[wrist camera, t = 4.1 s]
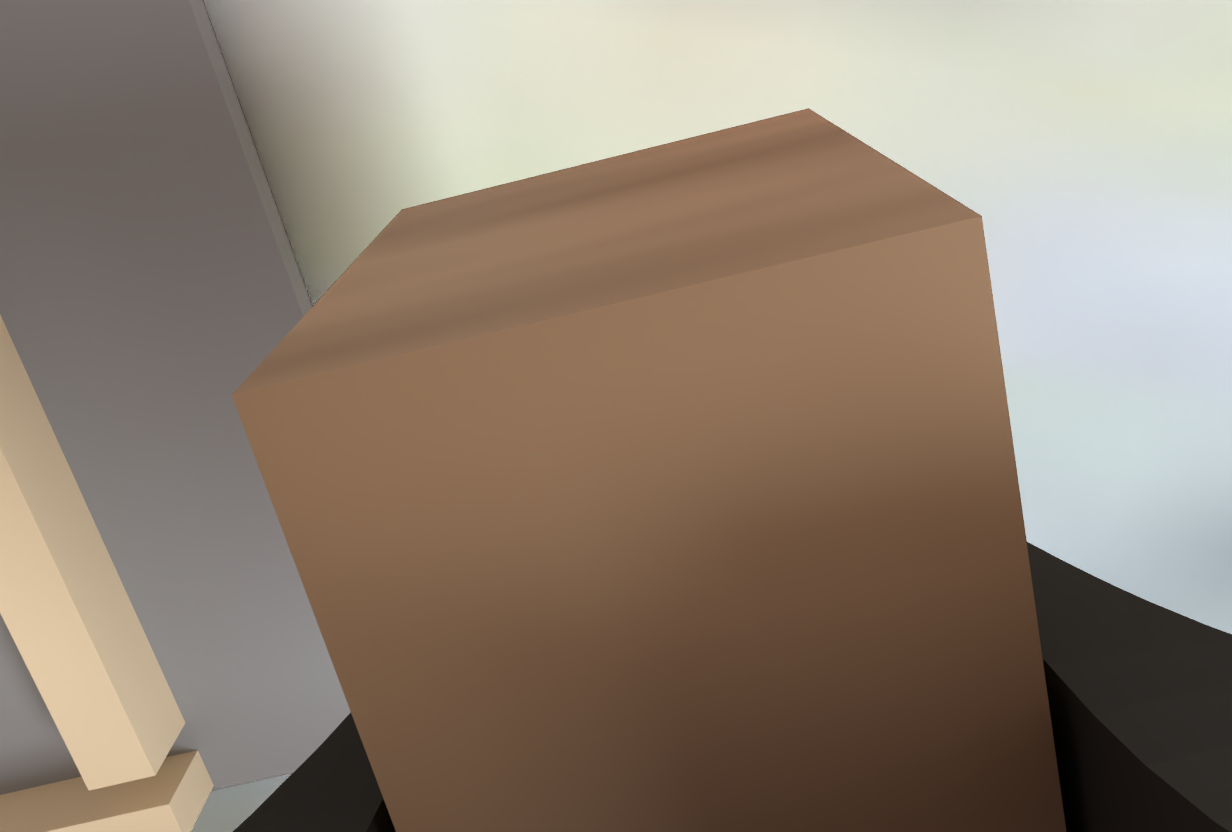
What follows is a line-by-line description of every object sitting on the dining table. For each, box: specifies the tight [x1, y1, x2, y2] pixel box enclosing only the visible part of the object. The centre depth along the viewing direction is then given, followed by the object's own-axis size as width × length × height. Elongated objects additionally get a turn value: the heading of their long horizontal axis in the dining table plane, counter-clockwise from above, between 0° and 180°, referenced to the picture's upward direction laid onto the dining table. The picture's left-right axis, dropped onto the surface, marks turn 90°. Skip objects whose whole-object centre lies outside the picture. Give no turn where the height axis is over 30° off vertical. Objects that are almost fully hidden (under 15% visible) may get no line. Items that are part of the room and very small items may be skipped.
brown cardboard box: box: [232, 108, 1066, 832], centre depth 10 cm, size 9×4×6 cm, turn 14°
